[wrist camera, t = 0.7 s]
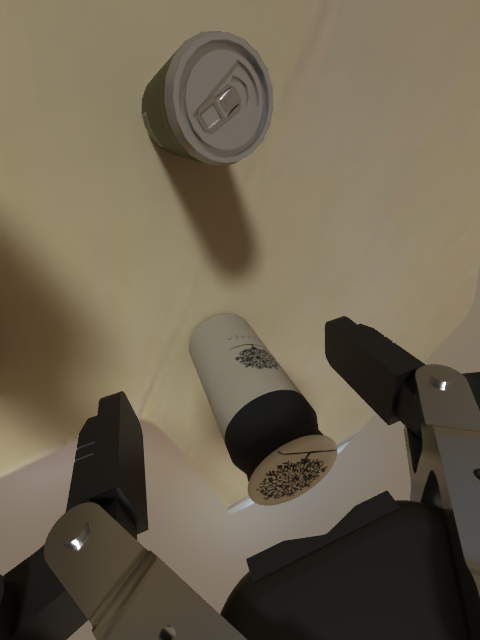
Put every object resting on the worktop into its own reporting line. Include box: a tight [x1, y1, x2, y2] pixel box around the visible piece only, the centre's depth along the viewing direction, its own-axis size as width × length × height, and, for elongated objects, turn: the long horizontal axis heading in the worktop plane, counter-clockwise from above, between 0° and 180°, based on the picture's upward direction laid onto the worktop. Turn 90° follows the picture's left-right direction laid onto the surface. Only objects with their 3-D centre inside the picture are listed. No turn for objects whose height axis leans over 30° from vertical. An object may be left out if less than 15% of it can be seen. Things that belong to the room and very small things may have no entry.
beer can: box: [142, 31, 273, 166], centre depth 19 cm, size 5×5×12 cm
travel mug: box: [189, 314, 337, 505], centre depth 29 cm, size 8×8×18 cm
